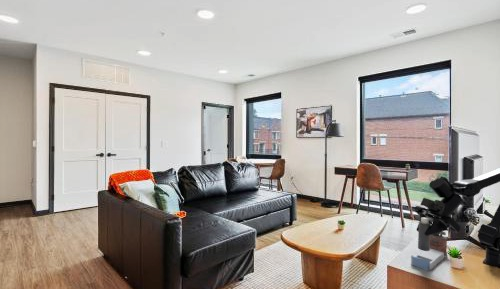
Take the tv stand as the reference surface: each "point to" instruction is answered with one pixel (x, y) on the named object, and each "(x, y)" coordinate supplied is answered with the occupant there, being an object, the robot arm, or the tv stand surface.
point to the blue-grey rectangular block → (427, 259)
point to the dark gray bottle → (423, 235)
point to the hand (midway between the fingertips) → (421, 232)
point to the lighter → (438, 242)
